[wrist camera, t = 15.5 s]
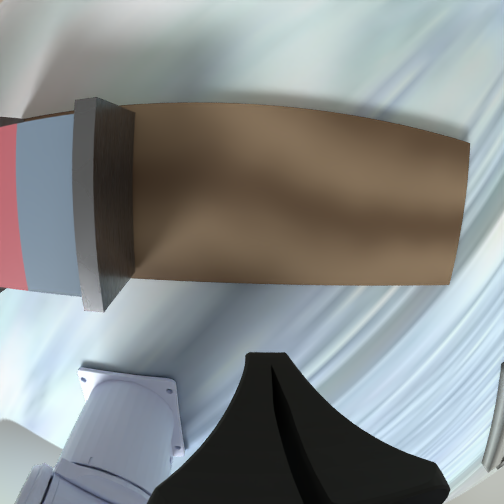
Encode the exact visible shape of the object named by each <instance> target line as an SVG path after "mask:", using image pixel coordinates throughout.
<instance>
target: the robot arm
mask: <svg viewBox="0 0 504 504" xmlns="http://www.w3.org/2000/svg"><path fill="white" fill-rule="evenodd" d="M77 375H78V378H79V382H80V385H81V388H82V391H83V394H84V397H85V400H86V403H85V405H84V407H83V409H82V411H81V413H80V415H79V417H78V419H77V421H76V423H75V425H74V427H73V429H72V432H71V434H70V436H69V438H68V440H67V442H66V444H65V446H64V448H63V451H62V453H61V455H60V457H59V459H58V462H57V464H56V465H55V467H54V468H53V469H52V467H51V466H49V465H48V464H46V463H43V464H42V465H34V466H33V467H32V469H31V471H30V473H29V475H28V477H27V479H26V481H25V483H24V485H23V487H22V489H21V491H20V493H19V495H18V497H17V500H16V502H15V504H442V503H443V502H444V501H445V500H446V498H447V497H448V495H449V492H450V487H449V485H448V483H447V481H446V479H445V477H444V476H443V474H442V472H441V470H440V469H439V467H438V466H437V464H436V463H434V462H431V461H428V460H425V459H422V458H419V457H417V456H414V455H411V454H408V453H406V452H403V451H401V450H399V449H397V448H395V447H392V446H390V445H388V444H386V443H384V442H382V441H381V440H379V439H377V438H375V437H374V436H372V435H370V434H369V433H367V432H365V431H364V430H362V429H361V428H359V427H358V426H356V425H355V424H353V423H352V422H351V421H349V420H348V419H347V418H345V417H344V416H343V415H342V414H340V413H339V412H338V411H337V410H336V409H335V408H333V407H332V406H331V405H330V404H329V403H328V402H327V401H326V400H325V399H324V398H323V397H322V396H321V395H320V394H319V393H318V392H317V391H316V390H315V388H314V387H313V386H312V385H311V384H310V383H309V382H308V381H307V379H306V378H305V377H304V376H303V375H302V373H301V372H300V371H299V370H298V368H297V367H296V366H295V364H294V363H293V362H292V360H291V359H290V358H289V356H288V355H287V354H286V353H285V352H284V353H261V352H249V353H248V354H246V356H245V367H244V371H243V374H242V377H241V380H240V383H239V385H238V388H237V390H236V392H235V394H234V396H233V398H232V400H231V402H230V404H229V406H228V408H227V410H226V412H225V413H224V415H223V417H222V418H221V420H220V421H219V423H218V424H217V426H216V427H215V429H214V430H213V431H212V433H211V434H210V435H209V437H208V438H207V439H206V440H205V442H204V443H203V444H202V445H201V446H200V448H199V449H198V450H197V451H196V452H195V453H194V454H193V455H192V456H191V457H190V458H189V459H188V460H187V461H186V462H185V463H184V464H183V465H182V466H181V467H180V468H179V469H178V470H177V471H175V472H174V473H173V474H172V475H171V476H170V474H171V468H172V461H173V456H177V457H182V456H184V455H185V448H184V442H183V435H182V427H181V420H180V412H179V404H178V395H177V386H176V382H175V381H174V380H173V379H170V378H160V377H149V376H140V375H132V374H124V373H116V372H109V371H102V370H96V369H90V368H84V367H80V368H79V369H78V371H77ZM83 377H84V378H85V379H84V378H83ZM168 389H171V390H172V391H170V390H168Z"/></svg>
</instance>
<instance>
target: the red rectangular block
mask: <svg viewBox="0 0 504 504" xmlns="http://www.w3.org/2000/svg"><path fill="white" fill-rule="evenodd" d="M16 134H17V124H12V125H7V126H3V127H0V287H4V288H11V289H19V290H27V291H28V286H27V281H26V275H25V270H24V263H23V257H22V249H21V242H20V233H19V223H18V211H17V194H16Z"/></svg>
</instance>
